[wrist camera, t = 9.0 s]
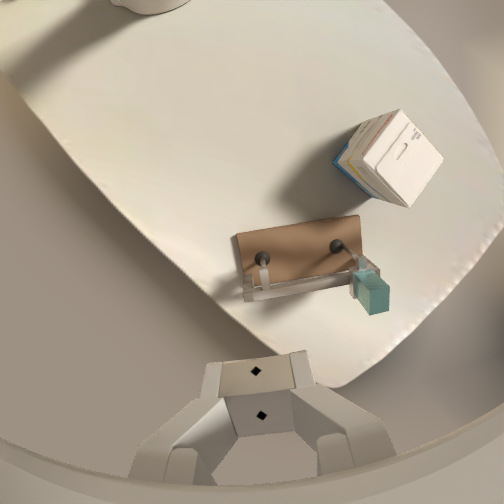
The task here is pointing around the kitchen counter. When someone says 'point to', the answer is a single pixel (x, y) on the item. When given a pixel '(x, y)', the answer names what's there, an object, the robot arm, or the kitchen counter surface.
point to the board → (299, 256)
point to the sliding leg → (367, 285)
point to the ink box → (390, 158)
